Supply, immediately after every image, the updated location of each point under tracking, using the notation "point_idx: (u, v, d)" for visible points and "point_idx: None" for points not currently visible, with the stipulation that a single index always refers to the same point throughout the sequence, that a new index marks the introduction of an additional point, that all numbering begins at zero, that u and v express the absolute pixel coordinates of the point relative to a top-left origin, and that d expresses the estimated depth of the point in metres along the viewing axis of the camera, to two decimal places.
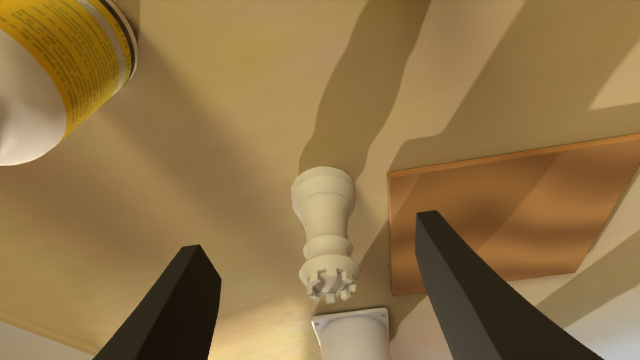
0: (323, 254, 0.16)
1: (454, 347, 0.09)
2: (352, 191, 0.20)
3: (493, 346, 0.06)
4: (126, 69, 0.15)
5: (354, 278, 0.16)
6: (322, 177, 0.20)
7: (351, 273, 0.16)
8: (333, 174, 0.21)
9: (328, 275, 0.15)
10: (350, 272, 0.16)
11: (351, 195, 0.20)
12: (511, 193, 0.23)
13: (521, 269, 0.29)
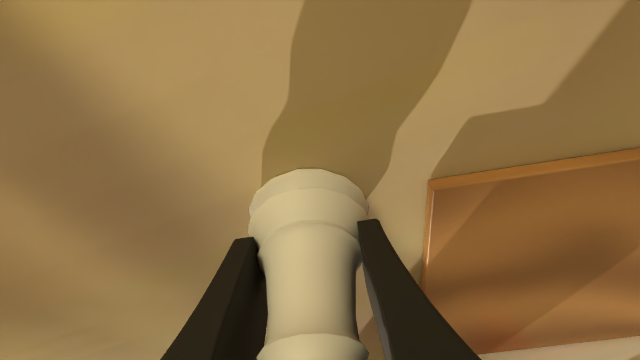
0: None
1: (386, 355, 0.09)
2: (364, 217, 0.10)
3: (394, 357, 0.06)
4: None
5: None
6: (304, 191, 0.10)
7: None
8: (327, 184, 0.11)
9: None
10: None
11: None
12: None
13: (619, 326, 0.19)
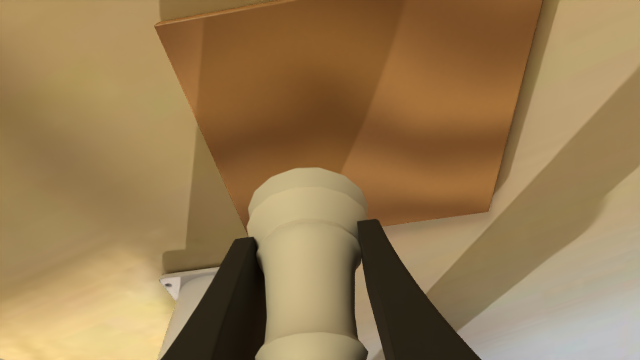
0: None
1: (386, 355, 0.09)
2: (364, 216, 0.10)
3: (394, 358, 0.06)
4: None
5: None
6: (303, 190, 0.10)
7: None
8: (326, 183, 0.11)
9: None
10: None
11: None
12: (357, 65, 0.15)
13: (413, 204, 0.21)
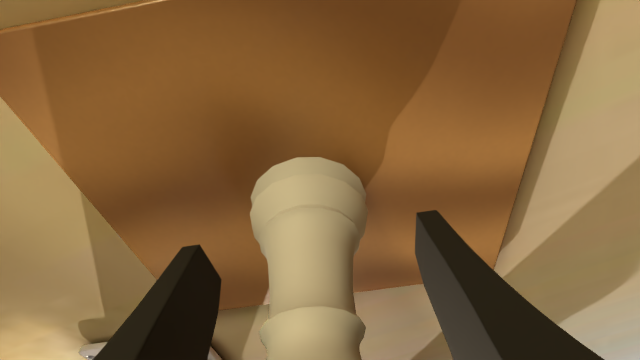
0: None
1: (454, 347, 0.09)
2: (362, 203, 0.11)
3: (493, 346, 0.06)
4: None
5: None
6: (304, 177, 0.10)
7: None
8: (326, 171, 0.11)
9: None
10: None
11: (360, 211, 0.11)
12: (291, 97, 0.10)
13: (392, 269, 0.16)
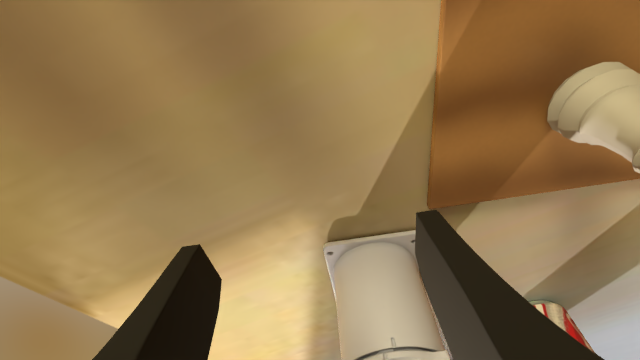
0: None
1: (454, 347, 0.09)
2: None
3: (493, 346, 0.06)
4: None
5: None
6: (622, 70, 0.16)
7: None
8: None
9: None
10: None
11: None
12: (617, 18, 0.16)
13: (601, 166, 0.22)
